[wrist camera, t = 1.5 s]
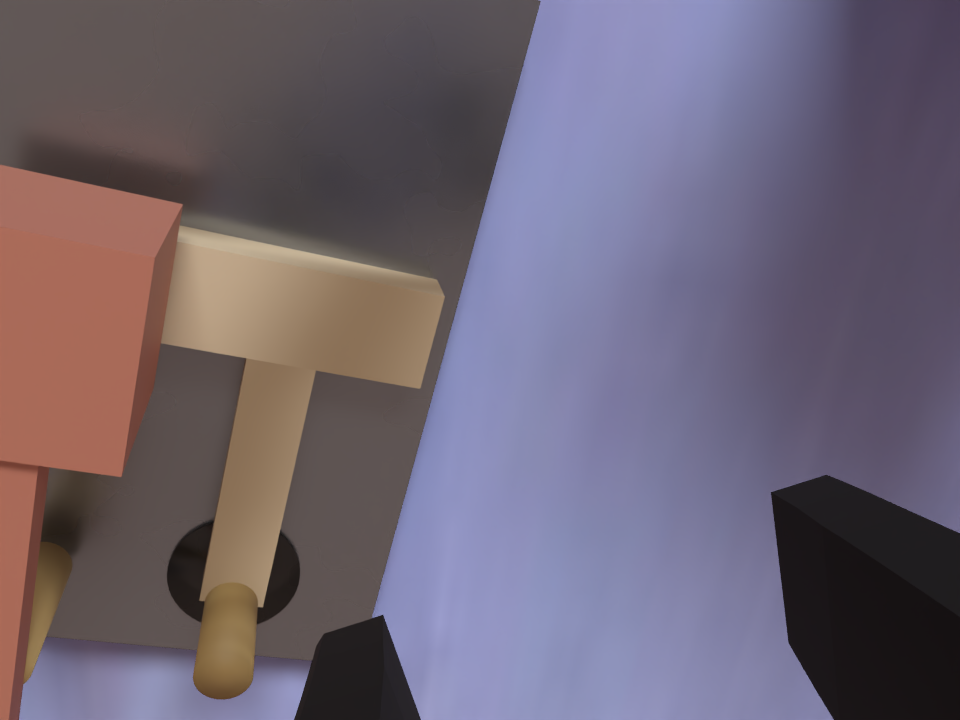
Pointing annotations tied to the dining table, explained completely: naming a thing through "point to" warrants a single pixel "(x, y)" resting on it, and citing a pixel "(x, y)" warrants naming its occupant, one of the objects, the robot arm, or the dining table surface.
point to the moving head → (68, 371)
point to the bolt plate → (272, 220)
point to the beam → (278, 397)
